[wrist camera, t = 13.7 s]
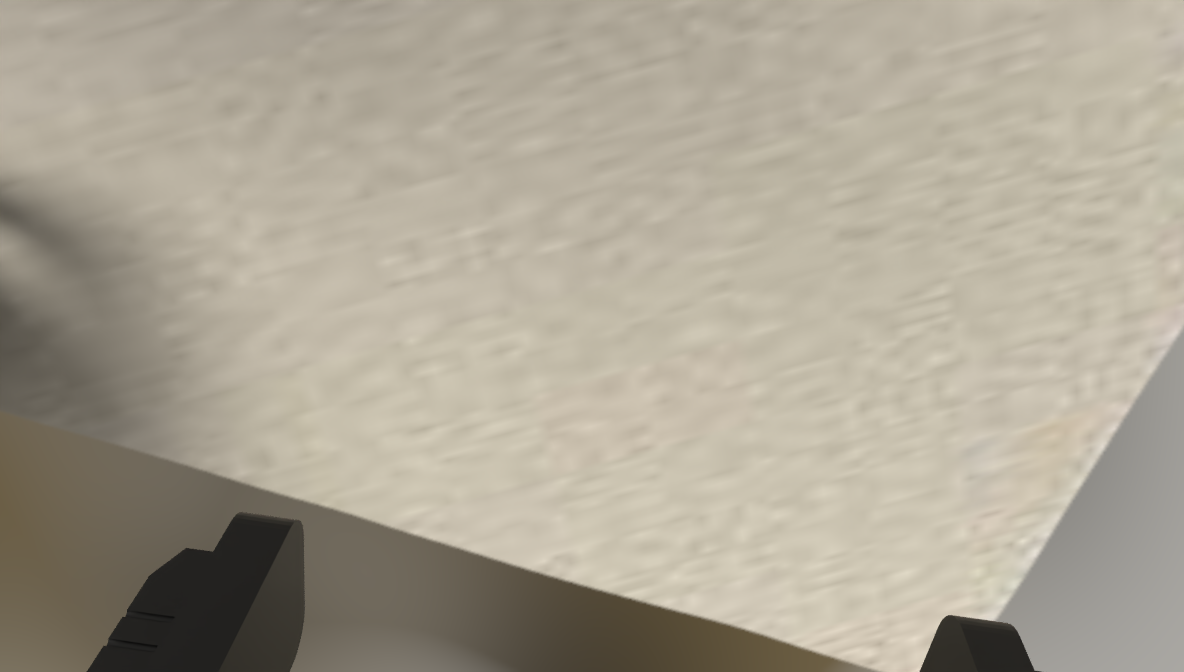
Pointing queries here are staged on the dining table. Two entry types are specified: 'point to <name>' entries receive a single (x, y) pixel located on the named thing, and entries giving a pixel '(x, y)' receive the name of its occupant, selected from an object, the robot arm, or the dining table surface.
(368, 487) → the dining table surface
